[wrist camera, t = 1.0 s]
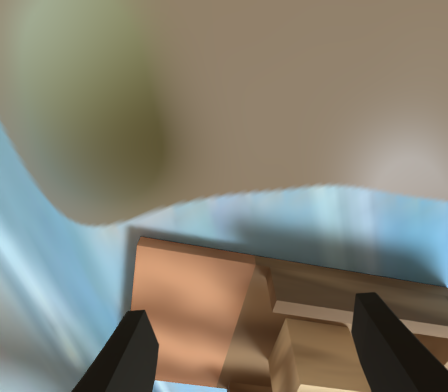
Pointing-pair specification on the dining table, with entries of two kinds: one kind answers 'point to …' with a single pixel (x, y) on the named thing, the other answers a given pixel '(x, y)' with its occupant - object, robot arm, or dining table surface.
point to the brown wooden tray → (257, 309)
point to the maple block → (315, 359)
